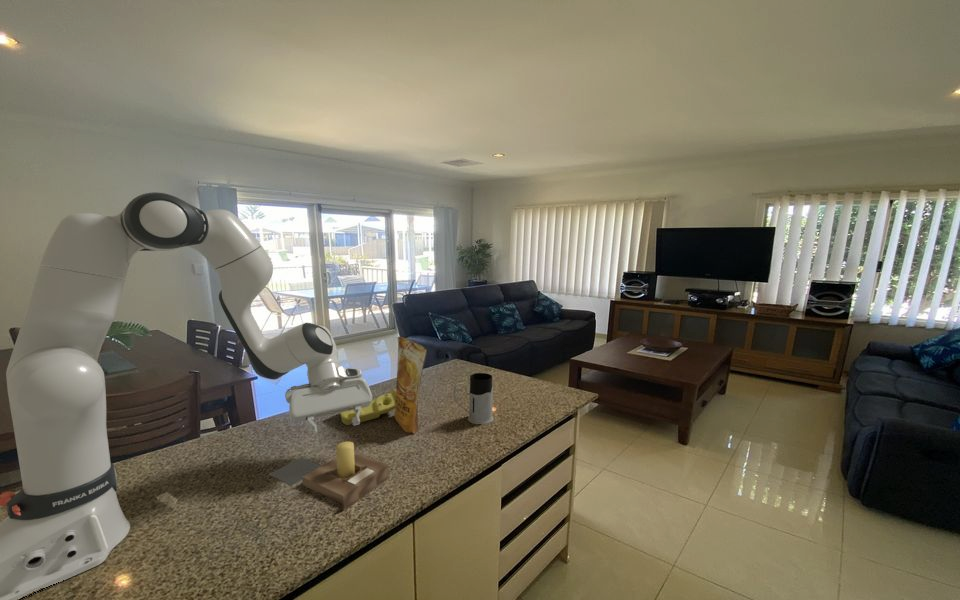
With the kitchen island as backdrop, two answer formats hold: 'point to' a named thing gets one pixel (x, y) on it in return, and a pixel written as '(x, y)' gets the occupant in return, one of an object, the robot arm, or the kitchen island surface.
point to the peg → (345, 460)
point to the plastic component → (372, 409)
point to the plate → (294, 471)
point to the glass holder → (479, 398)
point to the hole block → (347, 480)
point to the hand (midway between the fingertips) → (338, 429)
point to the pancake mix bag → (408, 383)
